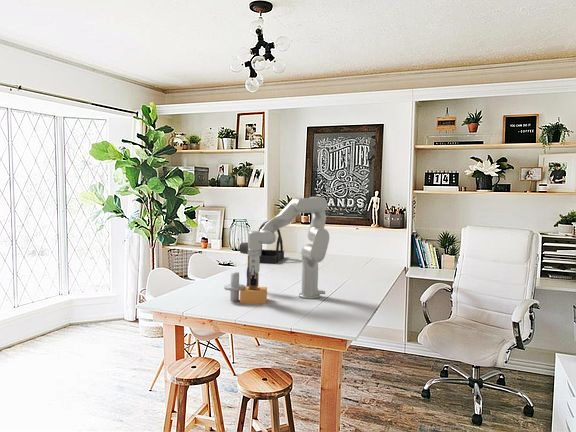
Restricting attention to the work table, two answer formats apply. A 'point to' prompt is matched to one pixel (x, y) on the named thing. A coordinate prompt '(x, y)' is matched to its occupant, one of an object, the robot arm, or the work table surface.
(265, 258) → the basket
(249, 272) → the tan wooden block
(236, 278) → the orange block with cylinder
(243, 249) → the rubber mallet
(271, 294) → the work table surface
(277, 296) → the work table surface
